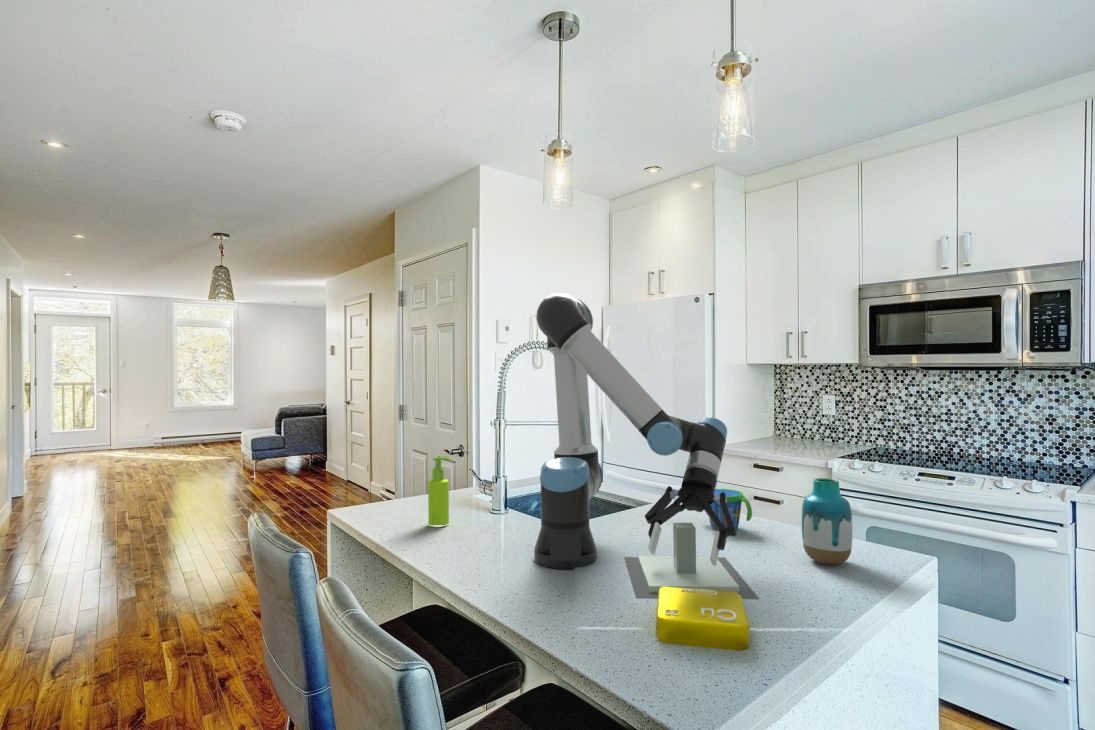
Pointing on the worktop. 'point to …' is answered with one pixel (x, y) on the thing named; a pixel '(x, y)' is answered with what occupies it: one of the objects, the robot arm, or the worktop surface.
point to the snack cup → (730, 507)
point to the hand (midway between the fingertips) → (681, 556)
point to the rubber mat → (643, 592)
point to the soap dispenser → (438, 495)
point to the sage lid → (685, 566)
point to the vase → (827, 523)
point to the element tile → (702, 618)
